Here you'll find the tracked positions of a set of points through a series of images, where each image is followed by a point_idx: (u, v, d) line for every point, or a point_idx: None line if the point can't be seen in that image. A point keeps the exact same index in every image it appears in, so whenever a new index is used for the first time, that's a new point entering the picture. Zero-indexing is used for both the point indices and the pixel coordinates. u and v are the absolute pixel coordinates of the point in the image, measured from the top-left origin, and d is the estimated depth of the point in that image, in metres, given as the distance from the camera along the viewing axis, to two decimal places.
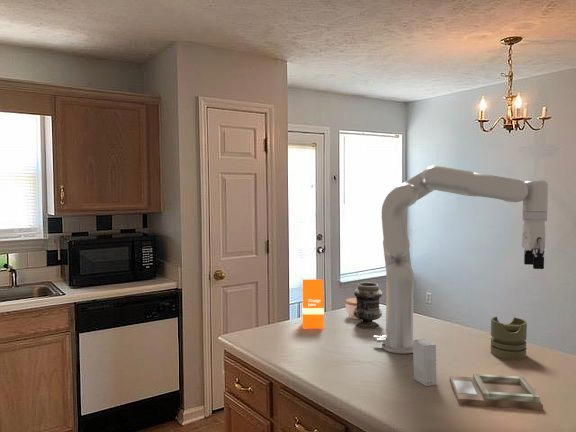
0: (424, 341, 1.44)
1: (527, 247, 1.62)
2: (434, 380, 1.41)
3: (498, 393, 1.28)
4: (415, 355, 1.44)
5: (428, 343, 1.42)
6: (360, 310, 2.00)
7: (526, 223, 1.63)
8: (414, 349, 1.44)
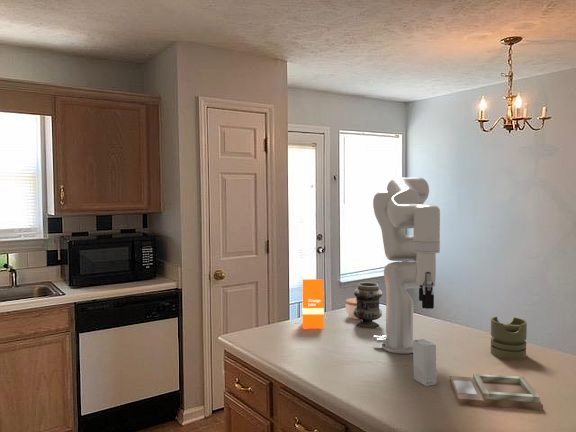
0: (424, 341, 1.44)
1: (417, 282, 1.40)
2: (434, 380, 1.41)
3: (498, 393, 1.28)
4: (415, 355, 1.44)
5: (428, 343, 1.42)
6: (360, 310, 2.00)
7: (417, 254, 1.42)
8: (414, 349, 1.44)
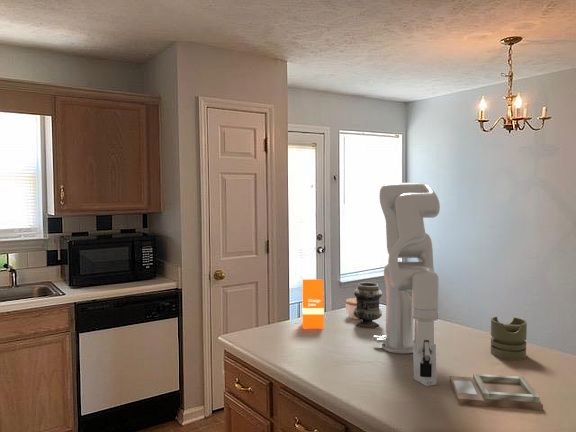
0: None
1: (415, 349, 1.41)
2: (434, 380, 1.41)
3: (498, 393, 1.28)
4: (415, 355, 1.44)
5: None
6: (360, 310, 2.00)
7: (415, 320, 1.43)
8: (414, 349, 1.44)
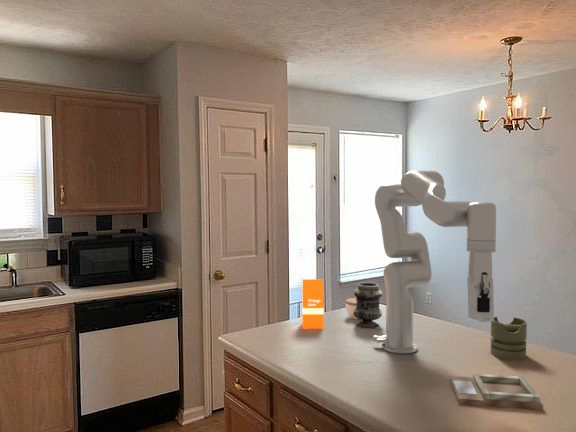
0: None
1: (471, 283, 1.33)
2: (491, 316, 1.33)
3: (498, 393, 1.28)
4: (470, 291, 1.36)
5: None
6: (360, 310, 2.00)
7: (471, 254, 1.35)
8: (469, 285, 1.36)
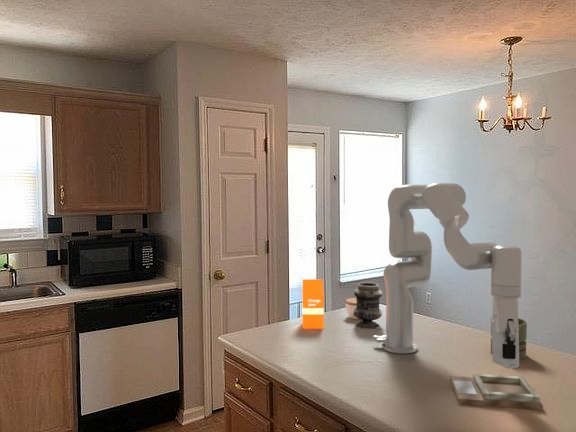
0: None
1: (496, 329, 1.31)
2: (517, 362, 1.31)
3: (498, 393, 1.28)
4: (494, 336, 1.34)
5: None
6: (360, 310, 2.00)
7: (495, 298, 1.33)
8: (493, 329, 1.34)
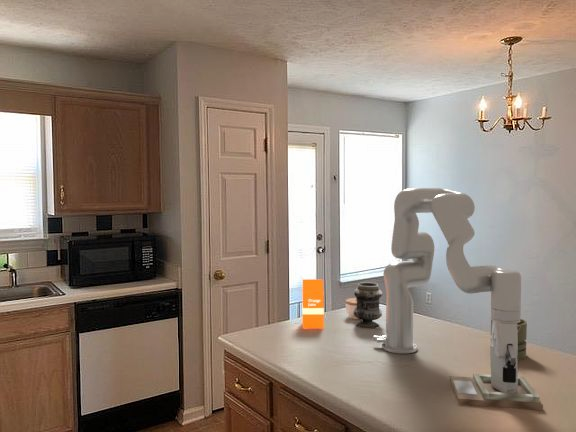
0: None
1: (496, 353, 1.31)
2: (515, 388, 1.32)
3: (498, 393, 1.28)
4: (493, 361, 1.34)
5: None
6: (360, 310, 2.00)
7: (495, 322, 1.33)
8: (492, 354, 1.35)
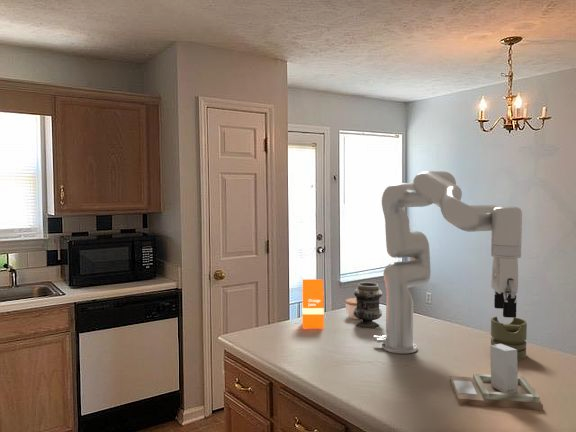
0: (503, 346, 1.34)
1: (496, 289, 1.31)
2: (515, 388, 1.32)
3: (498, 393, 1.28)
4: (493, 361, 1.34)
5: (508, 348, 1.32)
6: (360, 310, 2.00)
7: (495, 259, 1.32)
8: (492, 354, 1.35)
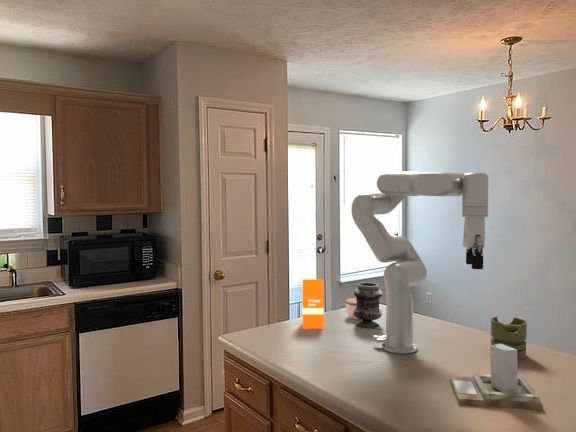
0: (503, 346, 1.34)
1: (466, 245, 1.49)
2: (515, 388, 1.32)
3: (498, 393, 1.28)
4: (493, 361, 1.34)
5: (508, 348, 1.32)
6: (360, 310, 2.00)
7: (466, 219, 1.50)
8: (492, 354, 1.35)
